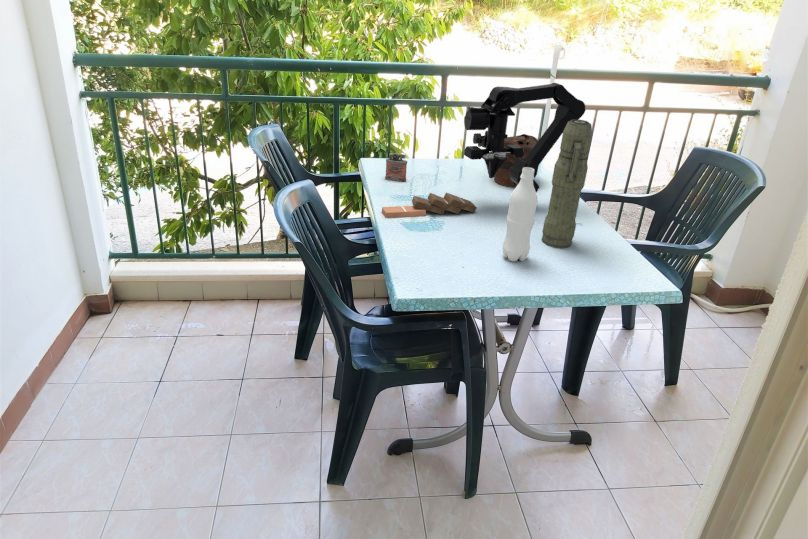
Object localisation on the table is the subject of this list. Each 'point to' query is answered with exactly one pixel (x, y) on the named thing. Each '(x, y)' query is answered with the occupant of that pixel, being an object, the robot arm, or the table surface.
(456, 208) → the tile
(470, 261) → the table surface
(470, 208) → the tile
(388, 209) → the end tile
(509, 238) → the water bottle
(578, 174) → the thermos
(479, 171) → the table surface
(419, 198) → the tile
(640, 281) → the table surface
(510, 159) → the case
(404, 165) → the lighter
